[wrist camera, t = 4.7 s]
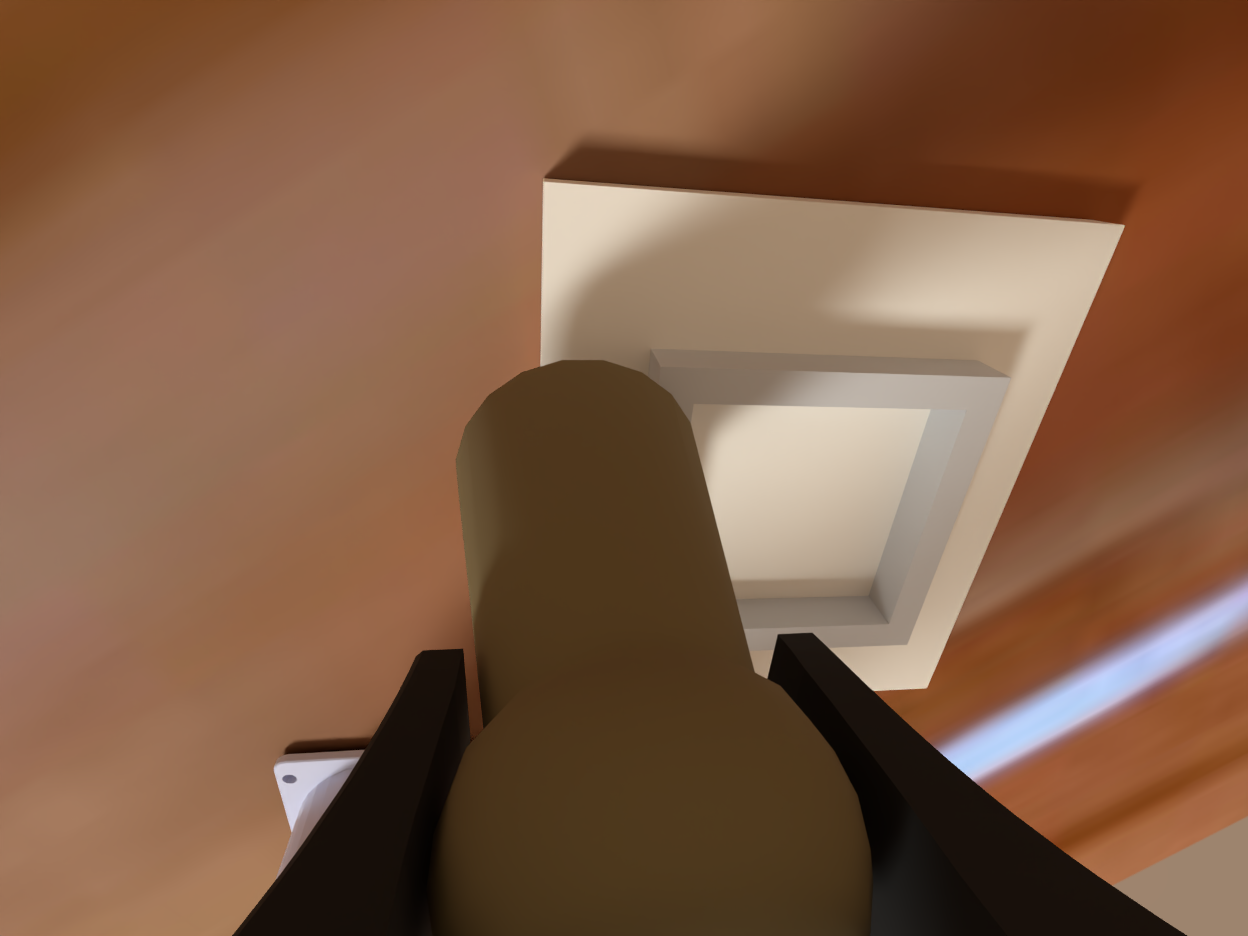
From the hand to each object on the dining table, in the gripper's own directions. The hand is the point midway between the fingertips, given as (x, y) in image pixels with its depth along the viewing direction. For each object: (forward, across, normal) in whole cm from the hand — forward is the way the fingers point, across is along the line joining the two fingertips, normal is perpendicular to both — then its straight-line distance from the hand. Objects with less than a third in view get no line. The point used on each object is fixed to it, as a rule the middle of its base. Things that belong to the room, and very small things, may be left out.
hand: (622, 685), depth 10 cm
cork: (+7, 0, 0) cm, 7 cm away
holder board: (+10, -7, +2) cm, 13 cm away
